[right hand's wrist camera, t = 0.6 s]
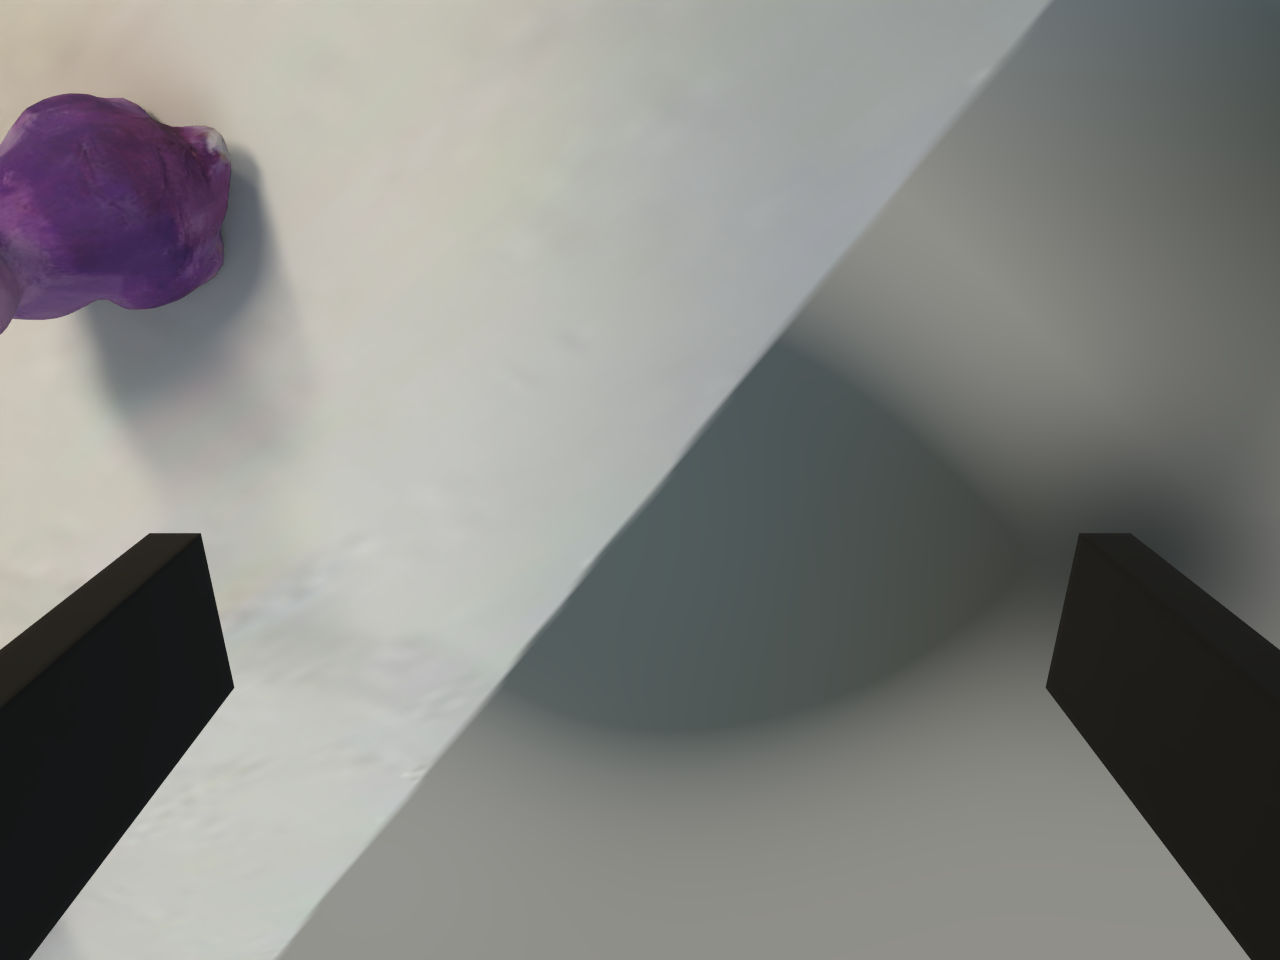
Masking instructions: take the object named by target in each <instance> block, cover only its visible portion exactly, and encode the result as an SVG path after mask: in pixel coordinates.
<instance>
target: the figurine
mask: <svg viewBox="0 0 1280 960" xmlns="http://www.w3.org/2000/svg"><path fill="white" fill-rule="evenodd" d="M230 177H231V161H230V156H229V152H228V149H227V146H226V143H225V141H224V139H223V137H222V135H221V134H220V133H219V132H218V131H217V130H215V129H214V128H211V127H208V126H187V127H171V126H168V125H165V124H162V123H160V122H158V121H155V120H153V119H151V117H150V116H149V115H148V114H147V113H146V112H145V111H144V110H143V109H142V108H141V107H140V106H139V105H137V104H135V103H133V102H131V101H128V100H126V99H124V98H100V97H95V96H92V95H88V94H63V95H58V96H53V97H50V98H47V99H44V100H42V101H40V102H38V103H36V104H34V105H32V106H30V107H28V108H27V109H26V110H25V111H24V112H23V113H22V114H21V115H20V117H19V118H18V119H17V121H16V122H15V123H14V125H13V126H12V127H11V129H10V130H9V132H8V133H7V135H6V137H5V138H4V140H3V142H2V143H1V144H0V334H1V333H2V332H3V331H4V330H5V329H6V328H7V327H8V325H9V323H10V322H11V320H12V319H25V320H46V319H53V318H59V317H62V316H65V315H68V314H70V313H73V312H75V311H77V310H79V309H81V308H83V307H85V306H87V305H88V304H90V303H92V302H94V301H96V300H102V299H105V300H109V301H111V302H113V303H115V304H117V305H119V306H121V307H123V308H126V309H149V308H155V307H159V306H162V305H165V304H168V303H171V302H174V301H177V300H179V299H181V298H183V297H185V296H186V295H188V294H189V293H191V292H192V291H193V290H195V289H196V288H198V287H199V286H201V285H203V284H204V283H206V282H207V281H209V280H210V279H212V278H213V277H215V275H216V274H217V272H218V271H219V270H220V268H221V266H222V265H223V257H224V253H223V243H222V239H221V236H220V228H221V226H222V223H223V220H224V217H225V214H226V211H227V205H228V195H229V186H230Z"/></svg>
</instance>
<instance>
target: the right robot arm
mask: <svg viewBox="0 0 1280 960" xmlns="http://www.w3.org/2000/svg"><path fill="white" fill-rule="evenodd" d="M233 689H234V684H233V680H232V675H231V670H230V666H229V661H228V656H227V652H226V647H225V643H224V638H223V633H222V629H221V624H220V620H219V615H218V610H217V606H216V601H215V597H214V592H213V587H212V583H211V578H210V574H209V569H208V564H207V560H206V555H205V551H204V546H203V541H202V537H201V533H149V534H148V535H147V536H145V537H144V538H143V539H142V540H140V541H139V542H138V543H137V544H135V545H134V546H133V547H131V548H130V549H129V550H128V551H126V552H125V553H124V554H122V555H121V556H120V557H119V558H117V559H116V560H115V561H114V562H112V563H111V564H110V565H108V566H107V567H106V568H105V569H103V570H102V571H101V572H99V573H98V574H97V575H96V576H94V577H93V578H92V579H90V580H89V581H88V582H87V583H85V584H84V585H83V586H82V587H80V588H79V589H78V590H76V591H75V592H74V593H73V594H71V595H70V596H69V597H67V598H66V599H65V600H64V601H62V602H61V603H60V604H58V605H57V606H56V607H55V608H53V609H52V610H51V611H50V612H48V613H47V614H46V615H44V616H43V617H42V618H41V619H39V620H38V621H37V622H35V623H34V624H33V625H32V626H30V627H29V628H28V629H27V630H25V631H24V632H23V633H21V634H20V635H19V636H18V637H16V638H15V639H14V640H12V641H11V642H10V643H9V644H7V645H6V646H5V647H3V648H2V649H1V650H0V960H29V959H30V958H31V956H32V955H33V954H34V952H35V951H36V950H37V948H38V947H39V946H40V944H41V943H42V942H43V940H44V939H45V938H46V936H47V935H48V934H49V932H50V931H51V930H52V928H53V927H54V926H55V925H56V923H57V922H58V921H59V919H60V918H61V917H62V915H63V914H64V913H65V911H66V910H67V909H68V907H69V906H70V905H71V903H72V902H73V901H74V899H75V898H76V897H77V895H78V894H79V893H80V891H81V890H82V889H83V887H84V886H85V885H86V883H87V882H88V881H89V879H90V878H91V877H92V875H93V874H94V873H95V872H96V870H97V869H98V868H99V866H100V865H101V864H102V862H103V861H104V860H105V858H106V857H107V856H108V854H109V853H110V852H111V850H112V849H113V848H114V846H115V845H116V844H117V842H118V841H119V840H120V838H121V837H122V836H123V834H124V833H125V832H126V830H127V829H128V828H129V826H130V825H131V824H132V822H133V821H134V820H135V819H136V817H137V816H138V815H139V813H140V812H141V811H142V809H143V808H144V807H145V805H146V804H147V803H148V801H149V800H150V799H151V797H152V796H153V795H154V793H155V792H156V791H157V789H158V788H159V787H160V785H161V784H162V783H163V781H164V780H165V779H166V777H167V776H168V775H169V773H170V772H171V771H172V769H173V768H174V767H175V766H176V764H177V763H178V762H179V760H180V759H181V758H182V756H183V755H184V754H185V752H186V751H187V750H188V748H189V747H190V746H191V744H192V743H193V742H194V740H195V739H196V738H197V736H198V735H199V734H200V732H201V731H202V730H203V728H204V727H205V726H206V724H207V723H208V722H209V720H210V719H211V718H212V716H213V715H214V714H215V713H216V711H217V710H218V709H219V707H220V706H221V705H222V703H223V702H224V701H225V699H226V698H227V697H228V695H229V694H230V693H231V691H232V690H233ZM1046 689H1047V690H1048V691H1049V693H1050V694H1051V695H1052V697H1053V698H1054V699H1055V701H1056V702H1057V703H1058V704H1059V706H1060V707H1061V709H1062V710H1063V711H1064V712H1065V714H1066V715H1067V716H1068V718H1069V719H1070V720H1071V722H1072V723H1073V724H1074V726H1075V727H1076V728H1077V730H1078V731H1079V732H1080V734H1081V735H1082V736H1083V738H1084V739H1085V740H1086V742H1087V743H1088V744H1089V746H1090V747H1091V748H1092V750H1093V751H1094V752H1095V754H1096V755H1097V756H1098V758H1099V759H1100V760H1101V761H1102V763H1103V764H1104V765H1105V767H1106V768H1107V769H1108V771H1109V772H1110V773H1111V775H1112V776H1113V777H1114V779H1115V780H1116V781H1117V783H1118V784H1119V785H1120V787H1121V788H1122V789H1123V791H1124V792H1125V793H1126V795H1127V796H1128V797H1129V799H1130V800H1131V801H1132V803H1133V804H1134V805H1135V806H1136V808H1137V809H1138V811H1139V812H1140V813H1141V815H1142V816H1143V817H1144V819H1145V820H1146V821H1147V822H1148V824H1149V825H1150V826H1151V828H1152V829H1153V830H1154V832H1155V833H1156V834H1157V836H1158V837H1159V838H1160V840H1161V841H1162V842H1163V844H1164V845H1165V846H1166V848H1167V849H1168V850H1169V852H1170V853H1171V854H1172V856H1173V857H1174V858H1175V859H1176V861H1177V862H1178V864H1179V865H1180V866H1181V868H1182V869H1183V870H1184V871H1185V873H1186V874H1187V875H1188V877H1189V878H1190V879H1191V881H1192V882H1193V883H1194V885H1195V886H1196V887H1197V889H1198V890H1199V891H1200V893H1201V894H1202V895H1203V897H1204V898H1205V899H1206V901H1207V902H1208V903H1209V905H1210V906H1211V907H1212V909H1213V910H1214V911H1215V913H1216V914H1217V915H1218V917H1219V918H1220V919H1221V920H1222V922H1223V923H1224V925H1225V926H1226V927H1227V928H1228V930H1229V931H1230V932H1231V934H1232V935H1233V936H1234V938H1235V939H1236V940H1237V942H1238V943H1239V944H1240V946H1241V947H1242V948H1243V950H1244V951H1245V952H1246V954H1247V955H1248V956H1249V958H1250V959H1251V960H1280V650H1279V649H1278V648H1277V647H1275V646H1274V645H1273V644H1271V643H1270V642H1269V641H1268V640H1266V639H1265V638H1264V637H1262V636H1261V635H1260V634H1259V633H1257V632H1256V631H1255V630H1253V629H1252V628H1251V627H1250V626H1248V625H1247V624H1246V623H1245V622H1243V621H1242V620H1241V619H1239V618H1238V617H1237V616H1236V615H1234V614H1233V613H1232V612H1230V611H1229V610H1228V609H1227V608H1225V607H1224V606H1223V605H1222V604H1220V603H1219V602H1218V601H1216V600H1215V599H1214V598H1213V597H1211V596H1210V595H1209V594H1207V593H1206V592H1205V591H1204V590H1202V589H1201V588H1200V587H1198V586H1197V585H1196V584H1195V583H1193V582H1192V581H1191V580H1190V579H1188V578H1187V577H1186V576H1184V575H1183V574H1182V573H1181V572H1179V571H1178V570H1177V569H1175V568H1174V567H1173V566H1172V565H1170V564H1169V563H1168V562H1166V561H1165V560H1164V559H1163V558H1161V557H1160V556H1159V555H1157V554H1156V553H1155V552H1154V551H1152V550H1151V549H1150V548H1149V547H1147V546H1146V545H1145V544H1143V543H1142V542H1141V541H1140V540H1138V539H1137V538H1136V537H1134V536H1133V535H1132V534H1131V533H1080V534H1079V537H1078V542H1077V546H1076V551H1075V555H1074V560H1073V564H1072V569H1071V574H1070V578H1069V583H1068V588H1067V592H1066V597H1065V601H1064V606H1063V611H1062V615H1061V620H1060V624H1059V629H1058V634H1057V638H1056V643H1055V647H1054V652H1053V657H1052V661H1051V666H1050V670H1049V675H1048V679H1047V684H1046Z"/></svg>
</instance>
